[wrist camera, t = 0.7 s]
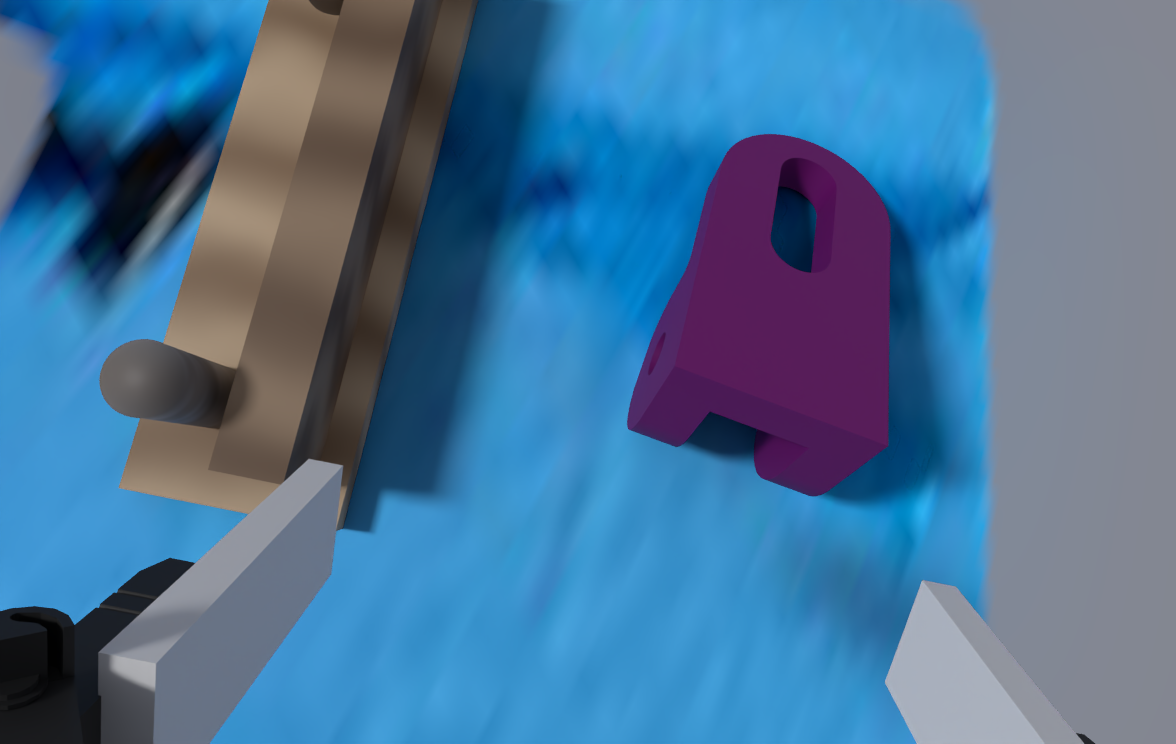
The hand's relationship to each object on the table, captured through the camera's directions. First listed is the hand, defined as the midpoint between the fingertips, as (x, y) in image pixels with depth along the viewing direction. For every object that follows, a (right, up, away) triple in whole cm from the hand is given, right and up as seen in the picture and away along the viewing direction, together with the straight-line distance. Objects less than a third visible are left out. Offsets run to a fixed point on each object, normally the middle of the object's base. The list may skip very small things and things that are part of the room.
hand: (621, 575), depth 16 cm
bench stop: (-14, +13, +21) cm, 29 cm away
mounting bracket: (+8, +8, +24) cm, 27 cm away
